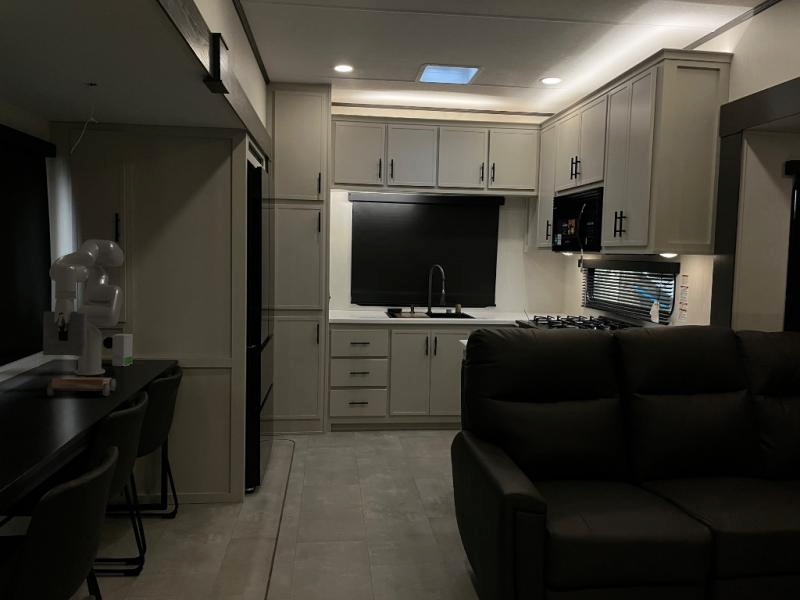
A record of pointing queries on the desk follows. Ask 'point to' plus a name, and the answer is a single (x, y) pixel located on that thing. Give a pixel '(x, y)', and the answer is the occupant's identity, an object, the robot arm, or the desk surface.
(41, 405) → the desk surface
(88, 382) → the dolly
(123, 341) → the skincare box
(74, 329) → the grey upright notched slab
